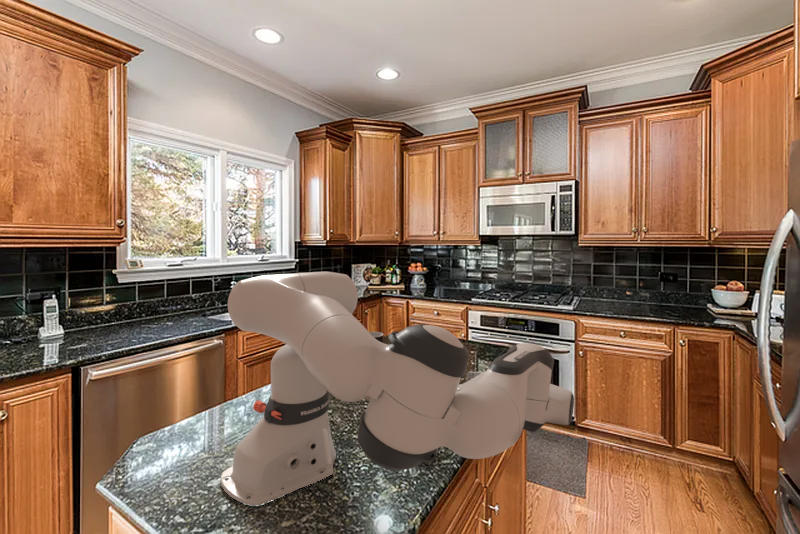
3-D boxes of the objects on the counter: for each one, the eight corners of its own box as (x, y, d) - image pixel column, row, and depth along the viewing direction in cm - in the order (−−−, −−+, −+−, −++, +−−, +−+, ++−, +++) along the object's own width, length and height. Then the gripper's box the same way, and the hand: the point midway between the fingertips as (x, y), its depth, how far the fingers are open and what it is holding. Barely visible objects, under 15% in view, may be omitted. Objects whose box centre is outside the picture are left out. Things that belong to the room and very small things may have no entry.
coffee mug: (370, 355, 151) (370, 330, 151) (388, 359, 146) (388, 333, 146) (350, 363, 142) (350, 337, 141) (368, 368, 137) (368, 340, 136)
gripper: (487, 418, 90) (437, 402, 98) (522, 391, 105) (477, 379, 114) (487, 392, 89) (437, 378, 98) (522, 368, 105) (477, 359, 114)
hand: (459, 379), depth 106 cm, fingers open, 8 cm apart
